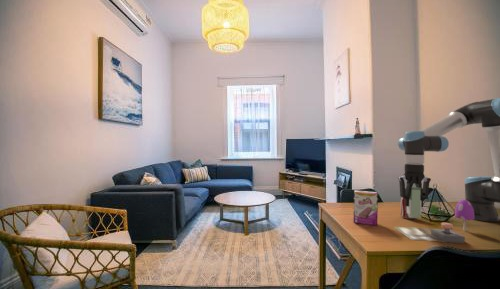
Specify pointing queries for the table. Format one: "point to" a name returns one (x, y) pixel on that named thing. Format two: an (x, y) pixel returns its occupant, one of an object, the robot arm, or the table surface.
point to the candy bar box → (365, 207)
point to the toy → (464, 212)
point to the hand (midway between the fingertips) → (413, 213)
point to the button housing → (447, 236)
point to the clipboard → (418, 234)
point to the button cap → (447, 227)
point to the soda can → (404, 210)
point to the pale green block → (415, 202)
